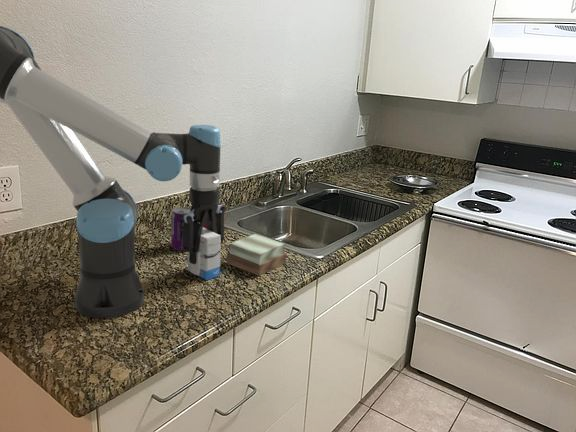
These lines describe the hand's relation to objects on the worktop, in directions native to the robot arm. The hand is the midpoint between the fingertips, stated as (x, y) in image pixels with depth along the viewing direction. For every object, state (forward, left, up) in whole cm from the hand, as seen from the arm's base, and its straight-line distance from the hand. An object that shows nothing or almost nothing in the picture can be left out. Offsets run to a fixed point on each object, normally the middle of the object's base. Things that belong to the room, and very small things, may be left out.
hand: (203, 270), depth 131 cm
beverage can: (+8, +17, -1) cm, 19 cm away
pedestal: (+15, -6, -1) cm, 16 cm away
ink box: (0, 0, -1) cm, 1 cm away
